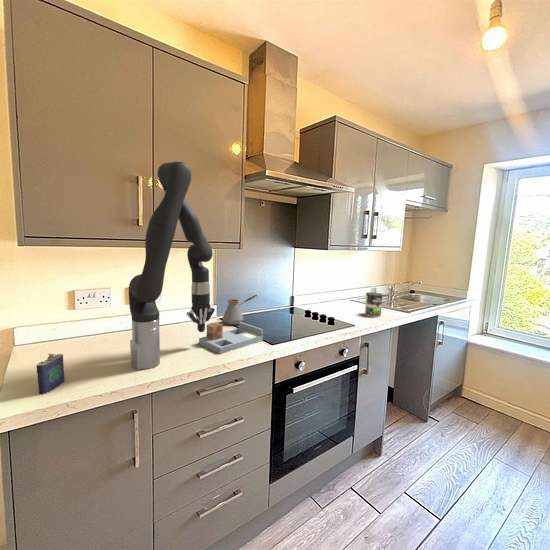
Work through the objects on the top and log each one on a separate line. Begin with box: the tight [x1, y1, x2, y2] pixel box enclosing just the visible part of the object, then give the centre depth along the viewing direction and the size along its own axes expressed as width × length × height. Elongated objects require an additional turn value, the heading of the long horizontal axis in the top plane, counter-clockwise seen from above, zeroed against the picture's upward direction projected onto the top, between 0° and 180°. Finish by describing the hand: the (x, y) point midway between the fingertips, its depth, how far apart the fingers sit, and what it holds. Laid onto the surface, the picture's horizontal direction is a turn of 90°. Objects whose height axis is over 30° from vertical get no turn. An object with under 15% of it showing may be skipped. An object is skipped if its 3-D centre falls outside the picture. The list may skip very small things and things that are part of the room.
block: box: [206, 322, 224, 340], centre depth 135 cm, size 5×5×6 cm
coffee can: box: [364, 291, 384, 318], centre depth 195 cm, size 10×10×14 cm
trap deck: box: [198, 321, 264, 355], centre depth 137 cm, size 24×16×6 cm, turn 136°
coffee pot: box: [222, 294, 259, 326], centre depth 169 cm, size 21×12×15 cm, turn 124°
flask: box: [36, 353, 66, 395], centre depth 93 cm, size 9×3×11 cm, turn 178°
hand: (201, 331), depth 130 cm, fingers closed
